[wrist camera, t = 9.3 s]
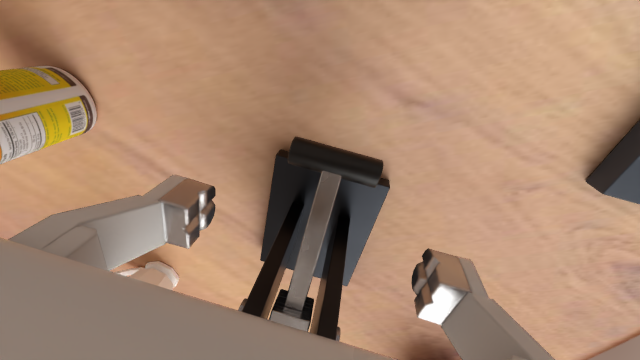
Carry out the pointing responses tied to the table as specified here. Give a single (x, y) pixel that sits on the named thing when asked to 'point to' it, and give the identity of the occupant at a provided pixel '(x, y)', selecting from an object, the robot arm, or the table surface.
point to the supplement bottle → (41, 109)
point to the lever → (318, 219)
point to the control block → (620, 169)
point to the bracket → (337, 248)
